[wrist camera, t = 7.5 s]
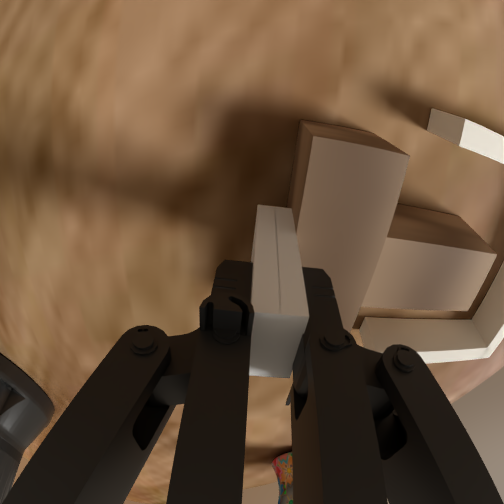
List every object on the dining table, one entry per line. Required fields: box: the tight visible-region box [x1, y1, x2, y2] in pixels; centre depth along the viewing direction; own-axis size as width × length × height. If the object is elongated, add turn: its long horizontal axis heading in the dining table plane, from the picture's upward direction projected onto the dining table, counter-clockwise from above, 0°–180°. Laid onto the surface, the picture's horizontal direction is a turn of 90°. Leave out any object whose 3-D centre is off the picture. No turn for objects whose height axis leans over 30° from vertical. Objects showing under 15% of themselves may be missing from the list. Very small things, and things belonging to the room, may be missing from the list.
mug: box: [272, 452, 293, 504], centre depth 28 cm, size 12×9×11 cm
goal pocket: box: [359, 108, 504, 363], centre depth 14 cm, size 11×14×3 cm
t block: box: [286, 120, 497, 333], centre depth 14 cm, size 10×10×4 cm
